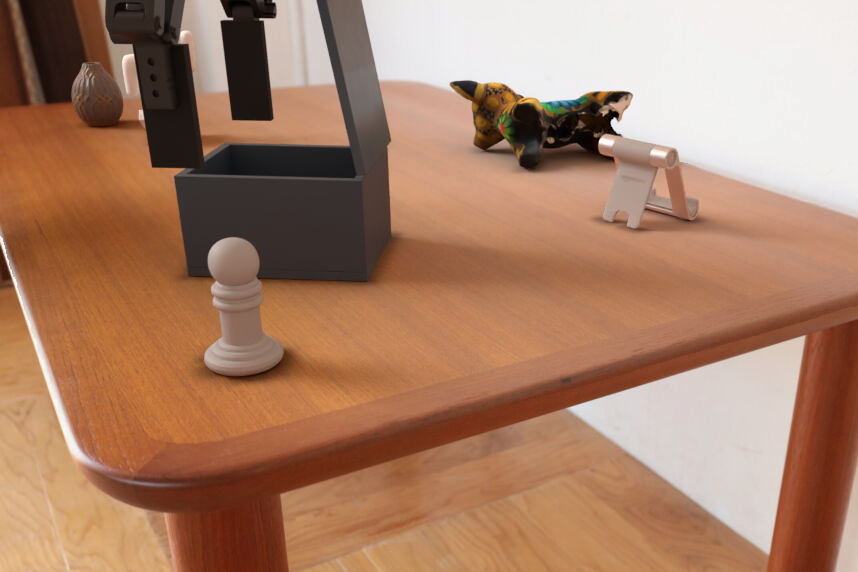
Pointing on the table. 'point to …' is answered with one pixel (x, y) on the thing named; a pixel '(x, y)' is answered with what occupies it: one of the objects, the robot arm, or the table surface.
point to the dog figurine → (540, 119)
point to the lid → (355, 80)
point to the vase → (96, 96)
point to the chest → (287, 209)
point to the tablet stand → (644, 180)
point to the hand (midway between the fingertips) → (220, 141)
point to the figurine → (131, 72)
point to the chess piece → (239, 312)
